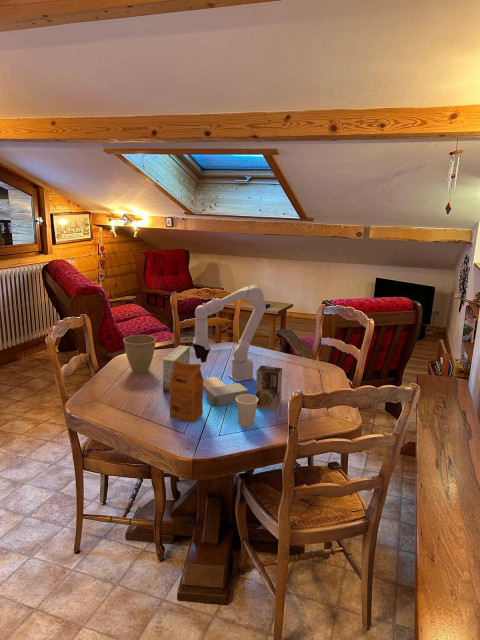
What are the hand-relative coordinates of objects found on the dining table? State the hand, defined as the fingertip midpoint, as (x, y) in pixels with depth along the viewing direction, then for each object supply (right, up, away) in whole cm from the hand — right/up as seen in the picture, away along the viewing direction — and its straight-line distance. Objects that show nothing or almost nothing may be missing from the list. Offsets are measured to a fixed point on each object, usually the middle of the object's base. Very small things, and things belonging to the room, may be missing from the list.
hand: (201, 360), depth 212 cm
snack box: (-10, -10, -6) cm, 16 cm away
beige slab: (+12, -14, -21) cm, 28 cm away
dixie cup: (+20, -20, -41) cm, 50 cm away
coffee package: (-3, -18, -36) cm, 41 cm away
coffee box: (+29, -17, -26) cm, 43 cm away
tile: (+6, -12, -8) cm, 15 cm away
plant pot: (-29, -6, +8) cm, 31 cm away
